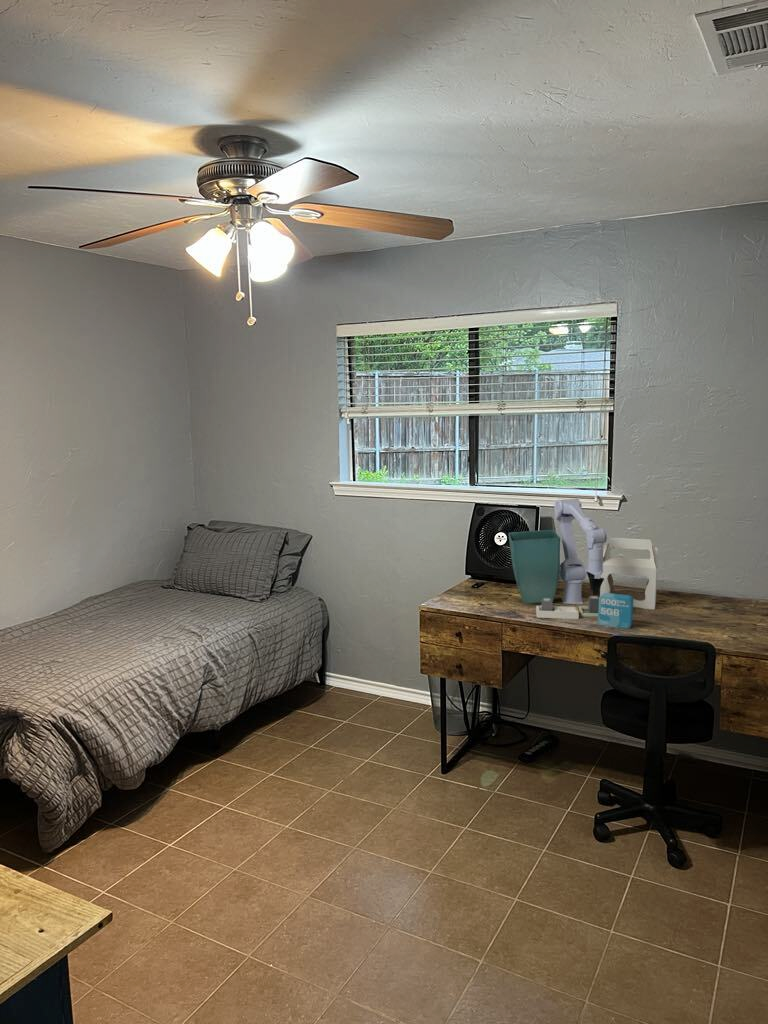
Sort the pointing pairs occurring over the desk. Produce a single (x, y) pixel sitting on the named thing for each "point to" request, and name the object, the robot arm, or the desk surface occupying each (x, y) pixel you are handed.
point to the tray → (586, 613)
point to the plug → (593, 604)
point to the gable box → (631, 570)
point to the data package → (615, 610)
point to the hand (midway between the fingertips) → (594, 592)
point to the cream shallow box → (558, 612)
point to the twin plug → (546, 604)
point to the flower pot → (535, 563)
